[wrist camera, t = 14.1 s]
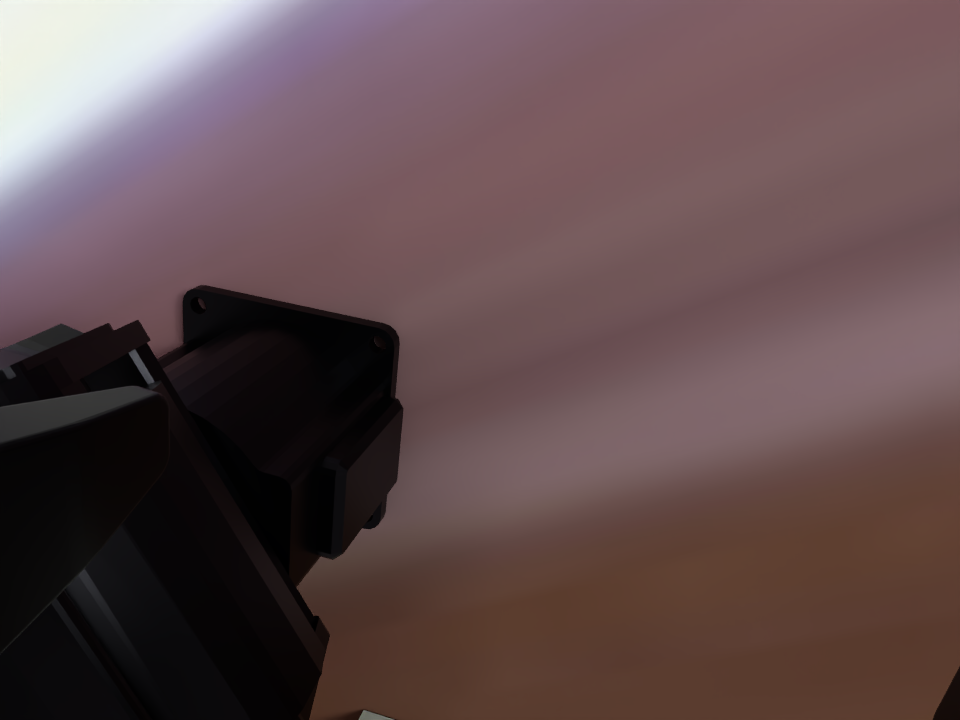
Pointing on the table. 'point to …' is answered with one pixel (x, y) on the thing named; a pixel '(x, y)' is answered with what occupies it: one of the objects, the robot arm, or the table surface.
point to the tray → (372, 716)
